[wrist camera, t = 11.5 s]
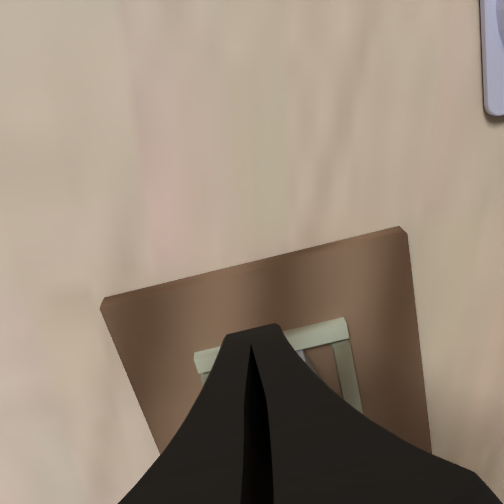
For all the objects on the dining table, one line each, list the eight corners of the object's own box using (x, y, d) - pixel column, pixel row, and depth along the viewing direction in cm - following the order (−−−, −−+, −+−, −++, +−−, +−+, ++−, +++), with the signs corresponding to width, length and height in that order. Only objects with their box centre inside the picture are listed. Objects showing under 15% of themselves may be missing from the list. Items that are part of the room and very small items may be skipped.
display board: (399, 225, 22) (412, 238, 20) (425, 450, 27) (437, 472, 26) (104, 297, 22) (96, 315, 21) (188, 504, 28) (187, 529, 26)
